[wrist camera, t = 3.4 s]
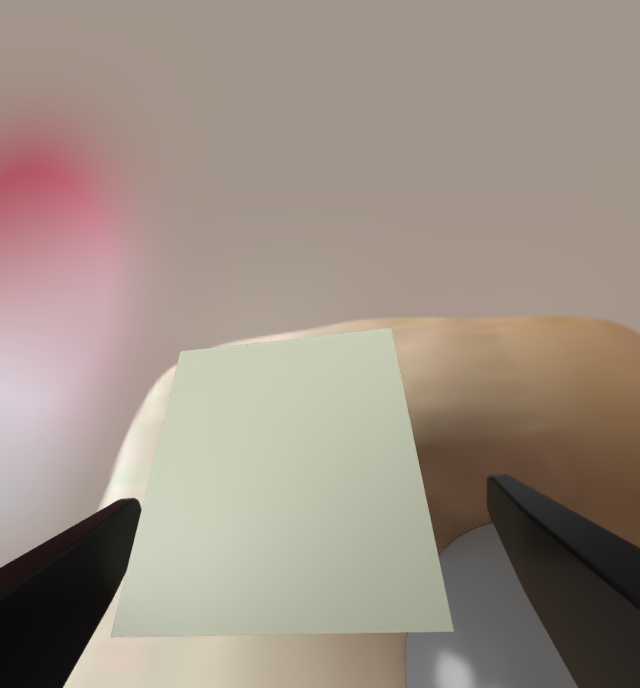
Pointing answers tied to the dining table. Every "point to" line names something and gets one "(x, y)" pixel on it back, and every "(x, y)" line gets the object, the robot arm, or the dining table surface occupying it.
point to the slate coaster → (484, 626)
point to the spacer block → (285, 498)
